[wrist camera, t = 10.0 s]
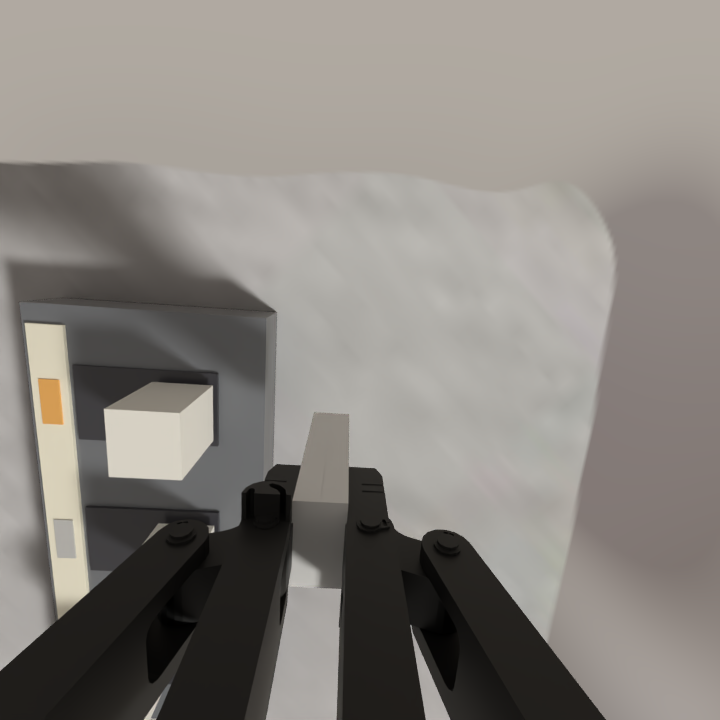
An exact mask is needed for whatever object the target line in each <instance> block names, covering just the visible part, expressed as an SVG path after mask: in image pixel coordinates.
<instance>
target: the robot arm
mask: <svg viewBox="0 0 720 720" xmlns="http://www.w3.org/2000/svg"><path fill="white" fill-rule="evenodd" d="M289 578H290V582H289ZM288 583H289V587H311V588H336V589H342V590H341V604H340V618H339V627H340V635H339V666H338V697H337V720H426V719H425V713H424V707H423V701H422V694H421V688H420V682H419V676H418V670H417V664H416V658H415V652H414V646H413V640H412V633H411V627H410V625H412V630H413V634H414V636H415V639H416V641H417V643H418V645H419V648H420V650H421V652H422V655H423V657H424V659H425V662H426V664H427V666H428V669H429V671H430V673H431V675H432V678H433V680H434V682H435V685H436V687H437V689H438V692H439V694H440V696H441V699H442V701H443V703H444V705H445V708H446V710H447V712H448V715H449V717H450V719H451V720H606V719H605V718H604V717H603V715H602V714H601V713H600V712H599V710H598V709H597V708H596V706H595V705H594V704H593V703H592V701H591V700H590V699H589V697H588V696H587V695H586V693H585V692H584V691H583V690H582V688H581V687H580V686H579V684H578V683H577V682H576V681H575V679H574V678H573V677H572V675H571V674H570V673H569V671H568V670H567V669H566V668H565V666H564V665H563V664H562V662H561V661H560V660H559V658H558V657H557V656H556V655H555V653H554V652H553V651H552V649H551V648H550V647H549V645H548V644H547V643H546V641H545V640H544V639H543V638H542V636H541V635H540V634H539V632H538V631H537V630H536V628H535V627H534V626H533V625H532V623H531V622H530V621H529V619H528V618H527V617H526V615H525V614H524V613H523V612H522V610H521V609H520V608H519V606H518V605H517V604H516V602H515V601H514V600H513V599H512V597H511V596H510V595H509V593H508V592H507V591H506V590H505V588H504V587H503V586H502V584H501V583H500V582H499V580H498V579H497V578H496V577H495V575H494V574H493V573H492V571H491V570H490V569H489V567H488V566H487V565H486V564H485V562H484V561H483V560H482V558H481V557H480V556H479V554H478V553H477V552H476V551H475V549H474V548H473V547H472V545H471V544H470V543H469V542H468V541H467V540H466V539H465V538H464V537H462V536H460V535H459V534H457V533H455V532H451V531H447V530H433V531H430V532H428V533H426V534H425V535H424V536H423V539H422V541H420V540H416V539H413V538H410V537H407V536H404V535H402V534H401V533H399V532H397V531H396V530H395V529H394V526H393V523H392V521H391V520H390V519H389V518H388V512H387V506H386V499H385V493H384V486H383V479H382V476H381V474H380V473H379V472H378V471H377V470H376V469H375V468H358V467H349V414H334V413H316V412H314V415H313V419H312V423H311V427H310V431H309V436H308V440H307V444H306V448H305V452H304V456H303V460H302V464H301V466H300V465H281V464H277V465H275V466H274V467H273V468H272V469H270V470H269V471H268V473H267V475H266V478H265V481H261V482H257V483H253V484H251V485H249V486H248V487H246V488H245V489H244V490H243V491H242V492H241V522H240V524H239V526H237V527H234V528H232V529H229V530H224V531H219V532H213V533H209V527H208V526H207V525H206V524H205V523H204V522H201V521H199V520H191V519H186V520H180V521H176V522H173V523H170V524H168V525H166V526H164V527H163V528H161V529H160V530H158V531H157V532H156V533H155V534H154V535H153V536H152V537H151V538H149V539H148V540H147V541H146V542H145V543H144V544H143V545H142V546H140V547H139V548H138V549H137V550H136V551H135V552H134V553H133V554H131V555H130V556H129V557H128V558H127V559H126V560H125V561H124V562H122V563H121V564H120V565H119V566H118V567H117V568H116V569H115V570H113V571H112V572H111V573H110V574H109V575H108V576H107V577H106V578H104V579H103V580H102V581H101V582H100V583H99V584H98V585H97V586H95V587H94V588H93V589H92V590H91V591H90V592H89V593H88V594H86V595H85V596H84V597H83V598H82V599H81V600H80V601H79V602H77V603H76V604H75V605H74V606H73V607H72V608H71V609H70V610H68V611H67V612H66V613H65V614H64V615H63V616H62V617H61V618H59V619H58V620H57V621H56V622H55V623H54V624H53V625H52V626H50V627H49V628H48V629H47V630H46V631H45V632H44V633H43V634H41V635H40V636H39V637H38V638H37V639H36V640H35V641H34V642H32V643H31V644H30V645H29V646H28V647H27V648H26V649H25V650H23V651H22V652H21V653H20V654H19V655H18V656H17V657H16V658H14V659H13V660H12V661H11V662H10V663H9V664H8V665H7V666H5V667H4V668H3V669H2V670H1V671H0V720H144V719H145V717H146V716H147V714H148V713H149V711H150V710H151V708H152V707H153V706H154V704H155V703H156V701H157V700H158V698H159V697H160V695H161V694H162V692H163V691H164V689H165V688H166V686H167V685H168V683H169V682H170V681H171V679H172V678H173V676H174V675H175V677H174V679H173V681H172V684H171V686H170V688H169V691H168V693H167V695H166V698H165V700H164V702H163V705H162V707H161V710H160V712H159V714H158V717H157V719H156V720H266V715H267V710H268V704H269V699H270V693H271V688H272V683H273V677H274V672H275V666H276V661H277V655H278V650H279V645H280V639H281V634H282V628H283V623H284V617H285V612H286V607H287V596H288ZM175 673H176V674H175Z"/></svg>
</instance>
